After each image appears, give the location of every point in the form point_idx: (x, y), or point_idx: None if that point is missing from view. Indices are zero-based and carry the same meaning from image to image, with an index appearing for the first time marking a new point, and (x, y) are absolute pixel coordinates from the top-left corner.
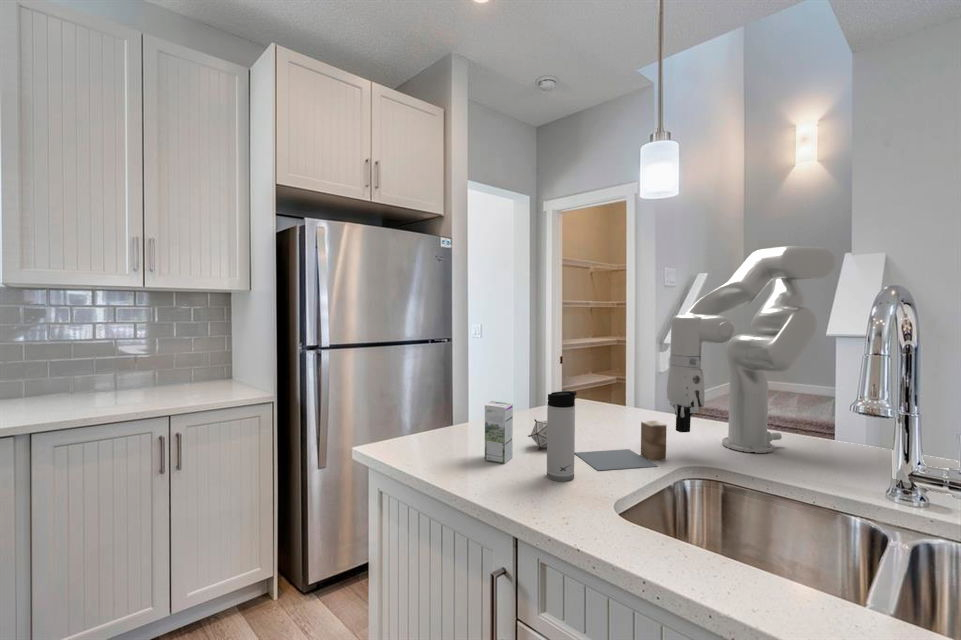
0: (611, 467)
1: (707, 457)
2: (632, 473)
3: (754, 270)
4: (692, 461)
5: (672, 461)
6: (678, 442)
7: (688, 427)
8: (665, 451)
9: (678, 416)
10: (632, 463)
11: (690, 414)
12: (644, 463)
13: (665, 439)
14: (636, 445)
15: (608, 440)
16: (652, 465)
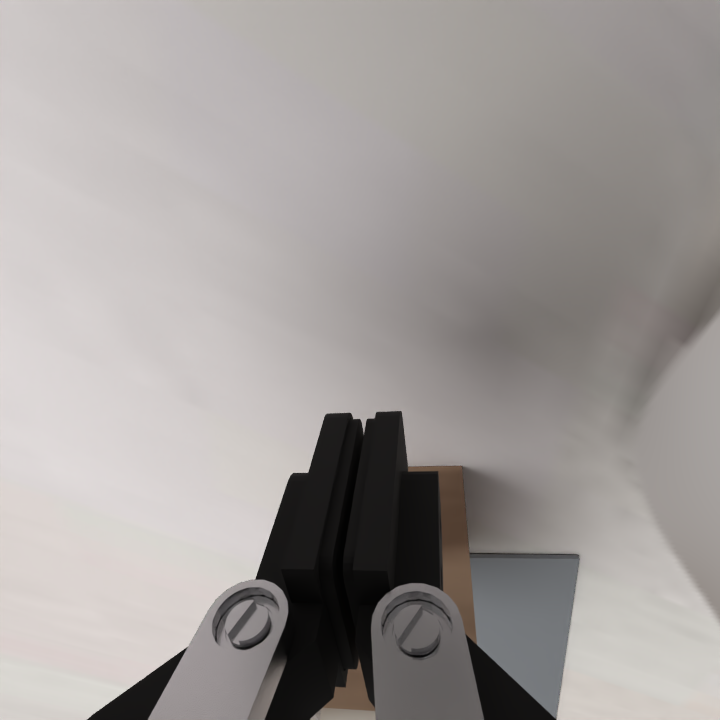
0: (536, 695)
1: (475, 145)
2: (625, 663)
3: None
4: (545, 333)
5: (509, 451)
6: (11, 169)
7: (436, 487)
8: (464, 509)
9: (344, 674)
10: (507, 627)
11: (523, 710)
12: (521, 590)
13: (470, 590)
14: (169, 487)
15: (93, 563)
16: (564, 575)
